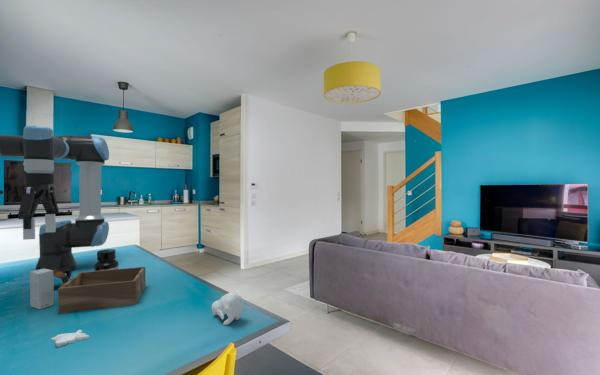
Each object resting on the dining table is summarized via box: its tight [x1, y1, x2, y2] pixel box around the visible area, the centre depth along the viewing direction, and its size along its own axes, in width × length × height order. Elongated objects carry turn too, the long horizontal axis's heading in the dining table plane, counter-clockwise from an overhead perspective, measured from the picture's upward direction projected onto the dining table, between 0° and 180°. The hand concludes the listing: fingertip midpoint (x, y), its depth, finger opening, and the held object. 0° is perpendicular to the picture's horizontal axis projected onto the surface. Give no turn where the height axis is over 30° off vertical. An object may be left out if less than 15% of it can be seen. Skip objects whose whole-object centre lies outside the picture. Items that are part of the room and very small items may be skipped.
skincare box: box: [29, 269, 55, 310], centre depth 99 cm, size 6×4×12 cm
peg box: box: [57, 266, 147, 315], centre depth 105 cm, size 18×22×8 cm
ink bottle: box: [93, 248, 120, 271], centre depth 128 cm, size 10×9×12 cm
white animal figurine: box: [211, 292, 245, 326], centre depth 90 cm, size 6×8×12 cm
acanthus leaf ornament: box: [50, 329, 91, 348], centre depth 78 cm, size 8×7×2 cm
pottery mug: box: [53, 269, 72, 288], centre depth 117 cm, size 12×10×8 cm
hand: (40, 235), depth 99 cm, fingers open, 13 cm apart
